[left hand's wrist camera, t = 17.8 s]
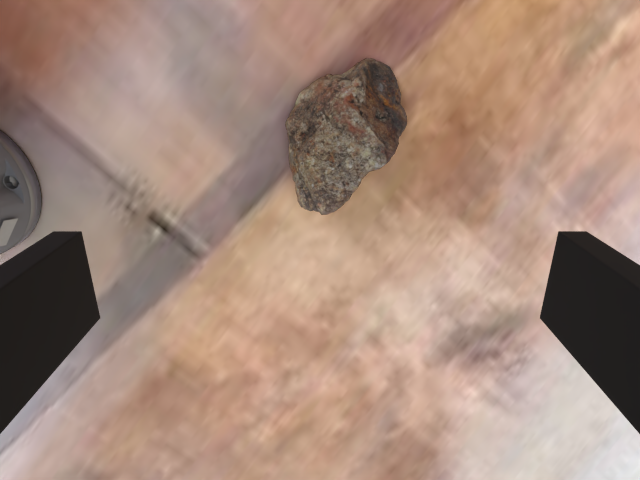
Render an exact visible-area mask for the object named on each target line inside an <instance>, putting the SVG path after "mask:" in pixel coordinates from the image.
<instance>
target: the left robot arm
mask: <svg viewBox="0 0 640 480" xmlns="http://www.w3.org/2000/svg"><path fill="white" fill-rule="evenodd" d="M40 211H41V191H40V186H39V182H38V179H37V176H36V174H35V172H34V169H33V167H32V166H31V164H30V162H29V160H28V159H27V157H26V156H25V154H24V153H23V152H22V151H21V149H20V148H19V147H18V146H17V145H16V144H15V143H14V142H13V141H12V140H11V139H10V138H9V137H8V136H7V135H5V134H4V133H3V132H2V131H0V254H1V253H4V252H6V251H7V250H9V249H11V248H12V247H14V246H16V245H17V244H19V243H21V242H22V241H23V240H25V239H26V238H27V237H28V236H29V235H30V234H31V232H32V231H33V229H34V228H35V226H36V224H37V222H38V219H39V216H40ZM99 319H100V315H99V310H98V306H97V301H96V296H95V292H94V287H93V283H92V278H91V273H90V269H89V264H88V259H87V255H86V250H85V246H84V241H83V236H82V232H52V233H51V234H49V235H47V236H46V237H44V238H43V239H41V240H40V241H38V242H36V243H35V244H33V245H32V246H30V247H28V248H27V249H25V250H24V251H22V252H21V253H19V254H17V255H16V256H14V257H13V258H11V259H10V260H8V261H6V262H5V263H3V264H2V265H0V434H1V432H2V431H3V430H4V429H5V428H6V427H7V425H8V424H9V423H10V422H11V421H12V420H13V418H14V417H15V416H16V415H17V414H18V413H19V411H20V410H21V409H22V408H23V407H24V406H25V405H26V403H27V402H28V401H29V400H30V399H31V398H32V396H33V395H34V394H35V393H36V392H37V391H38V389H39V388H40V387H41V386H42V385H43V384H44V382H45V381H46V380H47V379H48V378H49V377H50V376H51V374H52V373H53V372H54V371H55V370H56V369H57V367H58V366H59V365H60V364H61V363H62V362H63V360H64V359H65V358H66V357H67V356H68V355H69V353H70V352H71V351H72V350H73V349H74V348H75V346H76V345H77V344H78V343H79V342H80V341H81V340H82V338H83V337H84V336H85V335H86V334H87V333H88V331H89V330H90V329H91V328H92V327H93V326H94V324H95V323H96V322H97V321H98V320H99ZM540 319H541V320H542V321H543V322H544V323H545V324H546V326H547V327H548V328H549V329H550V330H551V331H552V333H553V334H554V335H555V336H556V337H557V338H558V340H559V341H560V342H561V343H562V344H563V345H564V346H565V348H566V349H567V350H568V351H569V352H570V353H571V355H572V356H573V357H574V358H575V359H576V360H577V362H578V363H579V364H580V365H581V366H582V367H583V369H584V370H585V371H586V372H587V373H588V374H589V376H590V377H591V378H592V379H593V380H594V381H595V382H596V384H597V385H598V386H599V387H600V388H601V389H602V391H603V392H604V393H605V394H606V395H607V396H608V398H609V399H610V400H611V401H612V402H613V403H614V405H615V406H616V407H617V408H618V409H619V410H620V411H621V413H622V414H623V415H624V416H625V417H626V418H627V420H628V421H629V422H630V423H631V424H632V425H633V427H634V428H635V429H636V430H637V431H638V432H639V434H640V265H638V264H637V263H635V262H634V261H632V260H630V259H629V258H627V257H626V256H624V255H623V254H621V253H619V252H618V251H616V250H615V249H613V248H612V247H610V246H608V245H607V244H605V243H604V242H602V241H600V240H599V239H597V238H596V237H594V236H593V235H591V234H589V233H588V232H558V236H557V241H556V246H555V250H554V255H553V259H552V264H551V269H550V273H549V278H548V283H547V287H546V292H545V296H544V301H543V306H542V310H541V315H540Z"/></svg>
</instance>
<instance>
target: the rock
mask: <svg viewBox="0 0 640 480" xmlns="http://www.w3.org/2000/svg"><path fill="white" fill-rule="evenodd" d="M400 99H401V93H400V90H399V87H398V84H397V80H396V78H395V76H394V74H393V72H392V70H391V68H390V67H389V66H387V65H385V64H383V63H381V62H378V61H376V60H374V59H364V60H363V61H361V62H359V63H357V64H356V65H355V66H353V67H352V68H351V69H350V70H348V71H347V72H345V73H343V74H341V75H331V74H327V75H326V76H324V77H321V78H319V79H317V80H316V81H315V82H313V83H312V84H311V85H310V86H309V87H307V88H306V89H304V90H303V91H301V93H300V94H299V97H298V98H297V101H296V103H295V106H294V108H293V110H292V111H291V113H290V116H289V117H288V119H287V121H286V124H285V125H286V129H287V131H288V134H287V135H288V140H289V164H290V168H291V171H292V174H293V180H294V182H295V186H296V193H297V198H298V202H299V204H300V206H301V207H303V208H304V209H306V210H309V211H313V210H314V211H317V212H320V214H321V215H325V214H329V213H331V212H334V211H336V210H337V209H338V208H340V207H341V206H342V205H343V204H344V203H345V202H346V201H348V200H349V198H350V197H351V195H352V193H353V192H354V191H355V190H356V189H357V188H358V186H359V185H360V183H361V180H362V178H363V177H364V176H365V175H366V174H367V173H368V172H370V171H373V170H377V169H380V168H381V167H383V166H384V165H385V164H386V163H388V162H389V161H390V158H391V157H392V156H393V155H394V154H395V151H396V149H397V146H398V144H399V143H398V139H399V136H401V134H402V132H403V131H404V129H405V127H406V125H407V116H406V113H405V110H404V109H403V107H402V106H401V104H400Z"/></svg>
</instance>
